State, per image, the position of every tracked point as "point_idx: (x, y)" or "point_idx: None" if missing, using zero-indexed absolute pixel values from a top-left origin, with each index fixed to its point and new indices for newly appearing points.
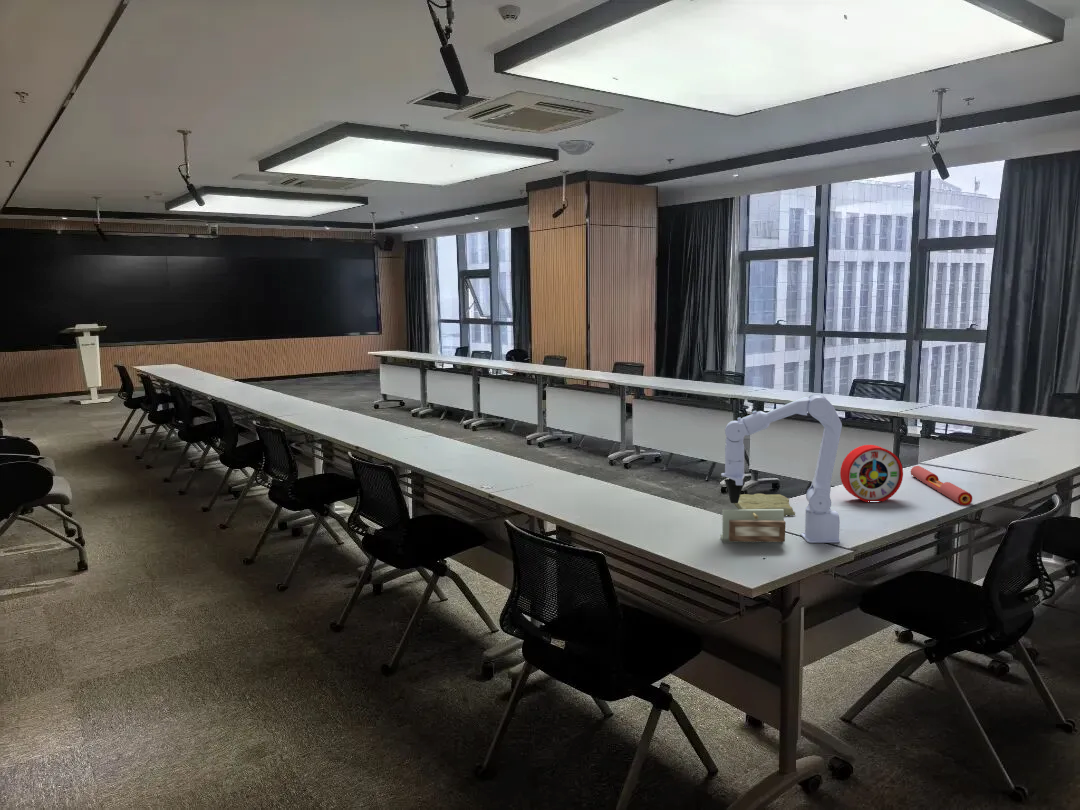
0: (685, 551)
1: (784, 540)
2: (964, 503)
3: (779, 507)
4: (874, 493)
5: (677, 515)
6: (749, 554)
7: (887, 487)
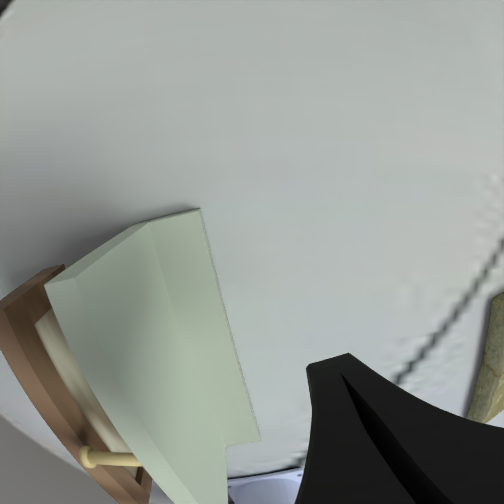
0: (9, 85)
1: None
2: None
3: (491, 403)
4: None
5: (484, 47)
6: None
7: None
